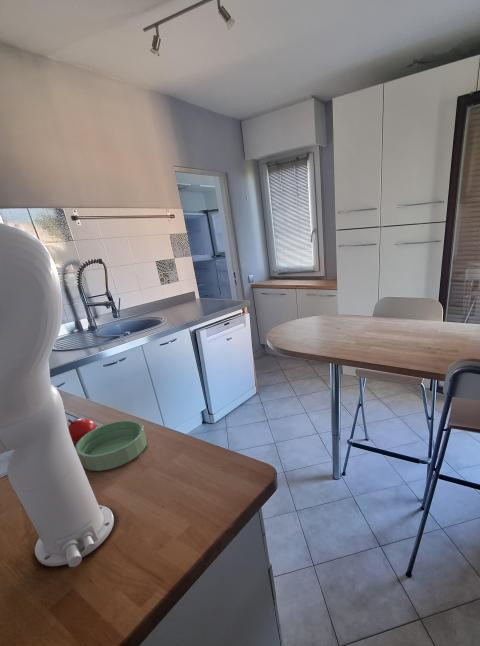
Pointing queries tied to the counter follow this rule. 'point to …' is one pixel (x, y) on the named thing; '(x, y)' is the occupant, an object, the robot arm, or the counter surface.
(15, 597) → the counter surface
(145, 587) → the counter surface
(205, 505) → the counter surface
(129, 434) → the bowl
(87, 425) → the apple
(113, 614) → the counter surface
